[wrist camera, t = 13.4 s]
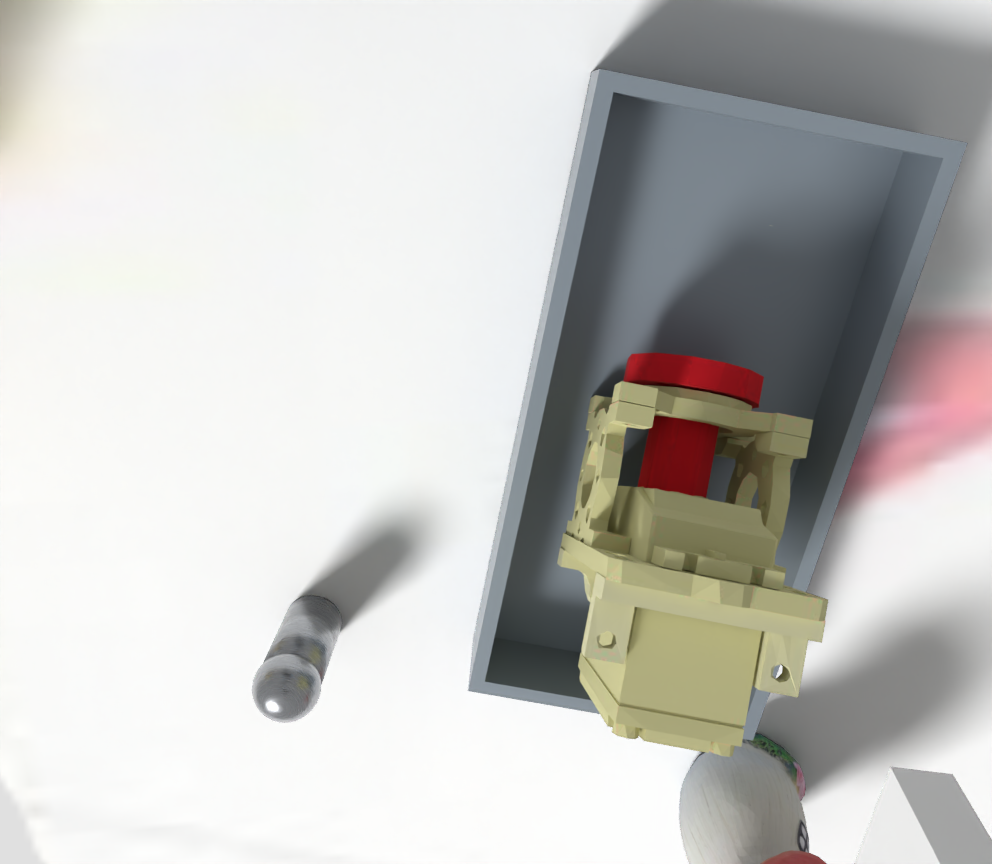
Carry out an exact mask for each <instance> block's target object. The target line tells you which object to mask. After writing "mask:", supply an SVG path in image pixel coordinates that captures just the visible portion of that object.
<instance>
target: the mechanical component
mask: <svg viewBox="0 0 992 864" xmlns="http://www.w3.org/2000/svg"><path fill="white" fill-rule="evenodd" d="M770 226H771V225H770ZM763 380H764V377H763V376H762V375H760V374H758V373H756V372H754V371H752V370H750V369H746V368H743V367H739V366H736V365H732V364H729V363H725V362H720V361H715V360H710V359H705V358H700V357H694V356H685V355H675V354H666V353H639V354H631V355H630V357H629V358H628V360H627V365H626V370H625V375H624V380H623V381H621V382H619V383H618V384H616V385H615V387H614V392H613V397H612V398H611V397H602V396H597V395H595V396H593V397H591V399H590V404H589V410H588V413H590V414H588V419H587V424H586V429H585V430H589V436H588V441H587V444H586V448H585V452H584V456H583V461H582V466H581V470H580V475H579V480H578V485H577V493H576V501H575V508H574V514H573V519H572V521H569V520H568V523H567V528H566V533H563V537H562V542H561V547H560V551H559V556H558V561H557V564H558V565H559V566H561V567H565V568H570V569H575V570H579V571H580V572H582V573H583V575H584V584H585V592H586V595H587V598H588V601H589V602H590V606H589V611H588V617H587V622H586V627H585V632H584V638H583V643H582V648H581V650H582V651H581V653H580V658H579V664H578V667H579V669H580V677H579V678H580V682H581V684H582V685H583V687H584V689H585V690H586V692H587V693H588V695H589V697H590V698H591V700H592V701H593V703H594V705H595V706H596V708H597V710H598V711H599V713H600V714H601V716H602V718H603V719H604V721H605V723H606V724H607V726H610V727H613V729H612V732H613V733H614V734H615V735H617V736H621V737H625V738H630V739H636V738H638V735H639V736H640V737H641V738H642V739H643V740H644V741H648V742H653V743H658V744H664V745H669V746H674V747H680V748H685V749H690V750H696V751H701V752H706V753H709V751H710V752H712V753H714V754H717V755H720V756H726V757H731V756H733V752H734V747H735V746H740V747H741V745H742V739H743V734H744V729H743V728H742V727H743V726H745V723H746V717H747V712H748V706H749V701H750V695H751V689H752V686H754V687H755V688H757V689H758V690H761V691H766V692H771V693H777V694H782V695H787V696H793V697H798V695H799V689H800V684H801V678H802V672H803V666H804V661H805V655H806V649H807V644H808V640H811V641H816V642H821V643H822V638H823V632H824V626H825V616H826V610H827V604H828V600H827V599H824V598H821V597H818V596H815V595H812V594H809V593H807V592H804V591H801V590H798V589H795V588H792V587H789V586H786V585H784V579H785V574H786V568H784V567H781V566H778V565H775V554H776V550H777V547H778V545H779V542H780V539H781V536H782V534H783V530H784V525H785V520H786V516H787V511H788V506H789V501H790V468H791V465H792V462H793V459H800V458H806V455H807V450H808V444H809V439H810V436H811V430H812V425H813V420H811V419H806V418H801V417H796V416H791V415H786V414H781V413H764V412H754V411H751V410H752V409H753V408H759V402H760V397H761V391H762V385H763ZM627 427H630V428H637V429H648V428H649V432H648V437H647V442H646V447H645V452H644V457H643V462H642V467H641V472H640V477H639V482H638V487H629V486H617V485H618V481H619V476H620V469H621V463H622V456H623V446H624V436H625V432H626V428H627ZM714 455H716V456H721V457H726V458H731V459H736V462H735V467H734V470H733V473H732V476H731V479H730V482H729V485H728V490H727V495H726V500H725V503H724V502H719V501H714V500H709V499H708V498H707V497H706V496H707V490H708V485H709V479H710V474H711V469H712V463H713V458H714ZM757 487H758V495H759V499H758V504H757V509H754V508H751V504H752V498H753V496H754V494H755V492H756V489H757ZM780 664H781V665H782V666H783V672H782V674H781V675H780V676H779V677H778V678H774V676H773V671H774V667H775V666H777V665H780Z"/></svg>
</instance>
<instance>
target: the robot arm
mask: <svg viewBox="0 0 992 864" xmlns="http://www.w3.org/2000/svg"><path fill="white" fill-rule="evenodd" d="M854 864H992V840H991V838H990V836H989V835H988V833H987V831H986V830H985V828H984V826H983V824H982V823H981V821H980V819H979V818H978V816H977V814H976V813H975V811H974V809H973V808H972V806H971V804H970V803H969V801H968V799H967V798H966V796H965V794H964V793H963V791H962V789H961V787H960V786H959V784H958V782H957V781H956V779H955V777H954V776H953V774H946V773H937V772H929V771H921V770H913V769H904V768H896V767H890V769H889V772H888V775H887V777H886V780H885V783H884V785H883V788H882V791H881V793H880V796H879V799H878V801H877V804H876V807H875V809H874V812H873V815H872V817H871V820H870V823H869V825H868V828H867V831H866V833H865V836H864V839H863V841H862V844H861V847H860V849H859V852H858V855H857V857H856V860H855V863H854Z"/></svg>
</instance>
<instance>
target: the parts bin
mask: <svg viewBox="0 0 992 864" xmlns="http://www.w3.org/2000/svg"><path fill="white" fill-rule="evenodd" d="M967 144H968V143H966V142H961V141H956V140H951V139H946V138H941V137H936V136H931V135H926V134H921V133H916V132H911V131H906V130H901V129H896V128H891V127H886V126H881V125H876V124H871V123H866V122H862V121H857V120H852V119H847V118H842V117H837V116H832V115H827V114H822V113H817V112H812V111H807V110H802V109H797V108H792V107H787V106H782V105H777V104H772V103H767V102H762V101H757V100H752V99H747V98H742V97H737V96H732V95H727V94H722V93H717V92H712V91H708V90H703V89H698V88H693V87H688V86H683V85H678V84H673V83H668V82H663V81H658V80H653V79H648V78H643V77H638V76H633V75H628V74H623V73H618V72H613V71H608V70H603V69H598V70H595V71H593V72H591V76H590V81H589V86H588V91H587V95H586V100H585V105H584V110H583V115H582V119H581V124H580V129H579V134H578V139H577V143H576V148H575V153H574V158H573V163H572V167H571V172H570V177H569V182H568V187H567V191H566V196H565V201H564V206H563V211H562V215H561V220H560V225H559V230H558V235H557V239H556V244H555V249H554V254H553V259H552V263H551V268H550V273H549V278H548V283H547V287H546V292H545V297H544V302H543V307H542V311H541V316H540V321H539V326H538V331H537V335H536V340H535V345H534V350H533V355H532V359H531V364H530V369H529V374H528V379H527V383H526V388H525V393H524V398H523V403H522V407H521V412H520V417H519V422H518V427H517V431H516V436H515V441H514V446H513V451H512V455H511V460H510V465H509V470H508V475H507V479H506V484H505V489H504V494H503V499H502V503H501V508H500V513H499V518H498V523H497V527H496V532H495V537H494V542H493V547H492V551H491V556H490V561H489V566H488V571H487V575H486V580H485V585H484V590H483V595H482V599H481V604H480V609H479V614H478V619H477V623H476V628H475V633H474V638H473V647H472V657H471V668H470V678H469V688H468V691H472V692H478V693H483V694H489V695H495V696H501V697H506V698H512V699H518V700H523V701H529V702H535V703H541V704H546V705H552V706H558V707H563V708H569V709H575V710H581V711H586V712H592V713H598V714H600V713H599V711H598V710H597V708H596V706H595V705H594V703H593V701H592V700H591V698H590V697H589V695H588V693H587V692H586V690H585V689H584V687H583V685H582V684H581V682H580V678H579V677H580V669H579V667H578V664H579V658H580V653H581V651H582V650H581V648H582V643H583V638H584V632H585V627H586V622H587V617H588V611H589V606H590V602H589V601H588V598H587V595H586V592H585V584H584V575H583V573H582V572H580V571H579V570H575V569H570V568H565V567H561V566H559V565H558V564H557V561H558V556H559V551H560V547H561V542H562V537H563V533H566V528H567V523H568V520H569V521H572V519H573V514H574V508H575V501H576V493H577V485H578V480H579V475H580V470H581V466H582V461H583V456H584V452H585V448H586V444H587V441H588V436H589V430H585V429H586V424H587V419H588V414H590V413H588V410H589V404H590V399H591V397H593V396H595V395H597V396H602V397H611V398H612V397H613V392H614V387H615V385H616V384H618V383H619V382H621V381H623V380H624V375H625V370H626V365H627V360H628V358H629V357H630V355H631V354H639V353H666V354H675V355H685V356H694V357H700V358H705V359H710V360H715V361H720V362H725V363H729V364H732V365H736V366H739V367H743V368H746V369H750V370H752V371H754V372H756V373H758V374H760V375H762V376H763V377H764V380H763V385H762V391H761V397H760V402H759V408H753V409H752V410H751V411H754V412H764V413H781V414H786V415H791V416H796V417H801V418H806V419H811V420H813V425H812V430H811V436H810V439H809V444H808V450H807V455H806V458H800V459H793V462H792V465H791V468H790V501H789V506H788V511H787V516H786V520H785V525H784V530H783V534H782V536H781V539H780V542H779V545H778V547H777V550H776V554H775V565H778V566H781V567H784V568H786V574H785V579H784V585H786V586H789V587H792V588H795V589H798V590H801V591H804V592H806V591H807V589H808V586H809V583H810V580H811V578H812V575H813V572H814V569H815V566H816V564H817V561H818V558H819V555H820V553H821V550H822V547H823V544H824V541H825V539H826V536H827V533H828V530H829V527H830V525H831V522H832V519H833V516H834V514H835V511H836V508H837V505H838V502H839V500H840V497H841V494H842V491H843V489H844V486H845V483H846V480H847V477H848V475H849V472H850V469H851V466H852V464H853V461H854V458H855V455H856V452H857V450H858V447H859V444H860V441H861V438H862V436H863V433H864V430H865V427H866V425H867V422H868V419H869V416H870V413H871V411H872V408H873V405H874V402H875V400H876V397H877V394H878V391H879V388H880V386H881V383H882V380H883V377H884V374H885V372H886V369H887V366H888V363H889V361H890V358H891V355H892V352H893V349H894V347H895V344H896V341H897V338H898V336H899V333H900V330H901V327H902V324H903V322H904V319H905V316H906V313H907V310H908V308H909V305H910V302H911V299H912V297H913V294H914V291H915V288H916V285H917V283H918V280H919V277H920V274H921V272H922V269H923V266H924V263H925V260H926V258H927V255H928V252H929V249H930V247H931V244H932V241H933V238H934V235H935V233H936V230H937V227H938V224H939V221H940V219H941V216H942V213H943V210H944V208H945V205H946V202H947V199H948V196H949V194H950V191H951V188H952V185H953V183H954V180H955V177H956V174H957V171H958V169H959V166H960V163H961V160H962V157H963V155H964V152H965V149H966V146H967ZM770 225H771V226H770ZM648 432H649V428H648V429H637V428H630V427H627V428H626V432H625V436H624V446H623V456H622V463H621V469H620V476H619V481H618V485H617V486H629V487H638V482H639V477H640V472H641V467H642V462H643V457H644V452H645V447H646V442H647V437H648ZM735 462H736V459H731V458H726V457H721V456H716V455H714V458H713V463H712V469H711V474H710V479H709V485H708V490H707V496H706V497H707V498H708V499H709V500H714V501H719V502H724V503H725V500H726V495H727V490H728V485H729V482H730V479H731V476H732V473H733V470H734V467H735ZM758 499H759V495H758V487H757V489H756V492H755V494H754V496H753V498H752V504H751V508H754V509H757V504H758ZM779 667H780V665H777V666H775V667H774V671H773V676H774V678H776V675H777V672H778V669H779ZM769 694H770V692H766V691H761V690H758V689H757V688H755V687H754V686H752V689H751V695H750V701H749V706H748V712H747V717H746V723H745V726H743V727H742V728H743V729H744V734H743V739H747V740H752V741H753V739H754V736H755V733H756V731H757V728H758V725H759V722H760V719H761V717H762V714H763V711H764V708H765V706H766V703H767V700H768V697H769Z"/></svg>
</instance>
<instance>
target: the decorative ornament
mask: <svg viewBox="0 0 992 864" xmlns="http://www.w3.org/2000/svg"><path fill="white" fill-rule="evenodd" d="M805 790H806V788H805V781H804V776H803V772H802V770H801V768H800V766H799V764H798V763H797V762H796V761H795V760H794V759H793V757H792V756H790V755H789V754H788V753H787V752H786V751H785V750H784V748H782V747H781V746H779V745H777V744H776V743H774V742H772V741H771V740H769V739H768V738H766V737H764V736H762V735H761V734H755V736H754V739H753V741H752V740H747V739H742V745H741V747H740V746H735V747H734V752H733V756H731V757H726V756H720V755H717V754H714V753H712V752H710V751H709V753H706V752H705V753H704V754H702V755H700V756H699V757H698V758H697V760H696V761H695V762H694V764H693V765H692V766H691V768H690V770H689V771H688V773H687V775H686V777H685V779H684V782H683V785H682V788H681V793H680V804H679V821H680V830H681V836H682V841H683V846H684V850H685V853H686V856H687V859H688V861H689V864H826V863H825V862H824V861H823V860H822V859H820V858H819V857H817V856H815V855H813V854H811V853H809V838H808V833H807V827H806V821H805V816H804V812H803V807H802V804H801V802H800V801H801V800H802V798H803V796H804V795H805Z"/></svg>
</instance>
